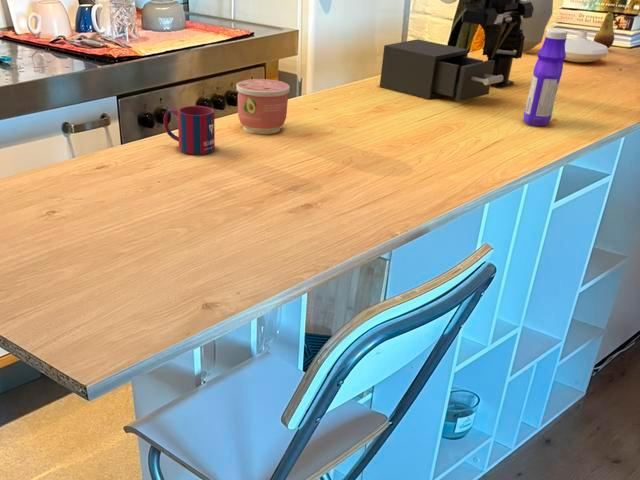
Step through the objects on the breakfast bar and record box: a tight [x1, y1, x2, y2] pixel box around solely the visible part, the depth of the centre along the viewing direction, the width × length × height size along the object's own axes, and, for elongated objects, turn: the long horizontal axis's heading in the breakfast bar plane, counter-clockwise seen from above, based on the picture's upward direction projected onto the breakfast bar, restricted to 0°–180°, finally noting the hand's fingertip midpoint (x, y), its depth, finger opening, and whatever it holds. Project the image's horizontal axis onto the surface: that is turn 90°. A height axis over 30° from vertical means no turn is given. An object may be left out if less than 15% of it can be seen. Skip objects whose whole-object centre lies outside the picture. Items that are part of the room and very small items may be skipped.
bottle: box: [523, 27, 569, 127], centre depth 168 cm, size 7×6×17 cm
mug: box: [163, 105, 216, 156], centre depth 151 cm, size 7×10×7 cm
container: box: [235, 78, 291, 135], centre depth 162 cm, size 10×10×8 cm
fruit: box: [593, 3, 617, 49], centre depth 234 cm, size 6×6×12 cm
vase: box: [563, 29, 610, 63], centre depth 223 cm, size 16×16×7 cm
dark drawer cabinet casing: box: [379, 38, 469, 100], centre depth 191 cm, size 15×13×9 cm
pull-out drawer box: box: [432, 56, 503, 102], centre depth 186 cm, size 18×12×7 cm, turn 44°
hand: (489, 57), depth 179 cm, fingers closed
